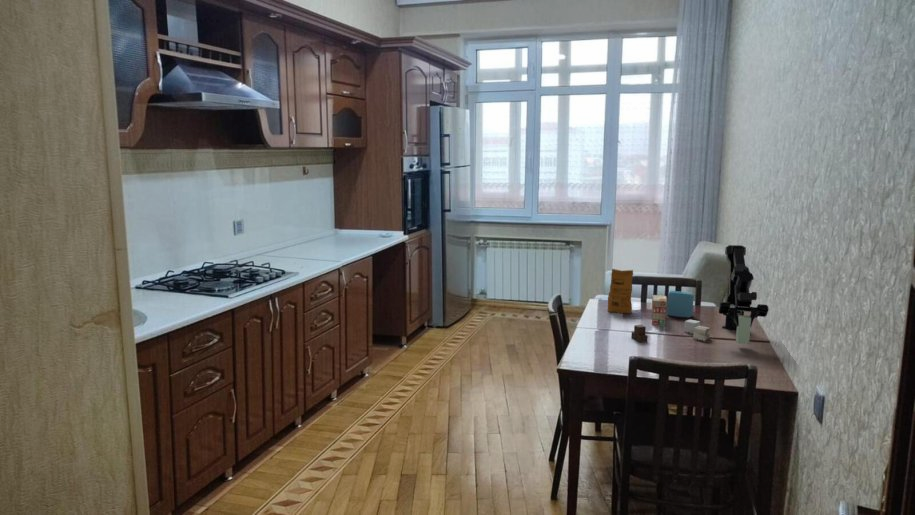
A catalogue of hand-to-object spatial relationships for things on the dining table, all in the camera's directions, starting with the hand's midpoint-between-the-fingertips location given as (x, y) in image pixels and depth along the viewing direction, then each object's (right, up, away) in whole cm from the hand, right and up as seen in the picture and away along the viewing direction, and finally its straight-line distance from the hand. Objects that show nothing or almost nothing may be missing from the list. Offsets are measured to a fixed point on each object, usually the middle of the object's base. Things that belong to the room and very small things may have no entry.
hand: (744, 326), depth 267 cm
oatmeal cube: (-12, -7, +16) cm, 21 cm away
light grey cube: (-12, -5, +27) cm, 30 cm away
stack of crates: (-39, -8, +14) cm, 42 cm away
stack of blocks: (-21, -2, +48) cm, 52 cm away
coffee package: (-35, +1, +66) cm, 74 cm away
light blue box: (-7, -1, +57) cm, 58 cm away
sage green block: (0, -7, +2) cm, 7 cm away
